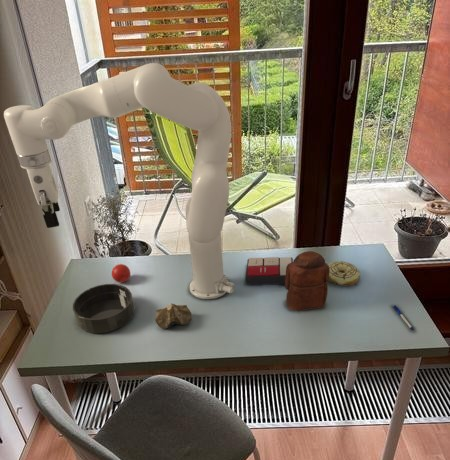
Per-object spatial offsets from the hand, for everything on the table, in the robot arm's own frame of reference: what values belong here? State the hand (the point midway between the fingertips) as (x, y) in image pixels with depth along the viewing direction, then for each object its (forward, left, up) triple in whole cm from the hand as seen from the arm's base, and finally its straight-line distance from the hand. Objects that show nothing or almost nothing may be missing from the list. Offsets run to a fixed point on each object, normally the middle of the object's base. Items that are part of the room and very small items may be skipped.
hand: (53, 218), depth 120 cm
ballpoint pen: (-90, -38, -29) cm, 102 cm away
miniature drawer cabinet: (-47, -40, -29) cm, 68 cm away
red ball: (-5, -15, -26) cm, 30 cm away
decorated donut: (-68, -49, -29) cm, 88 cm away
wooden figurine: (-63, -31, -29) cm, 76 cm away
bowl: (-13, +1, -29) cm, 31 cm away
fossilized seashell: (-33, -6, -29) cm, 44 cm away
